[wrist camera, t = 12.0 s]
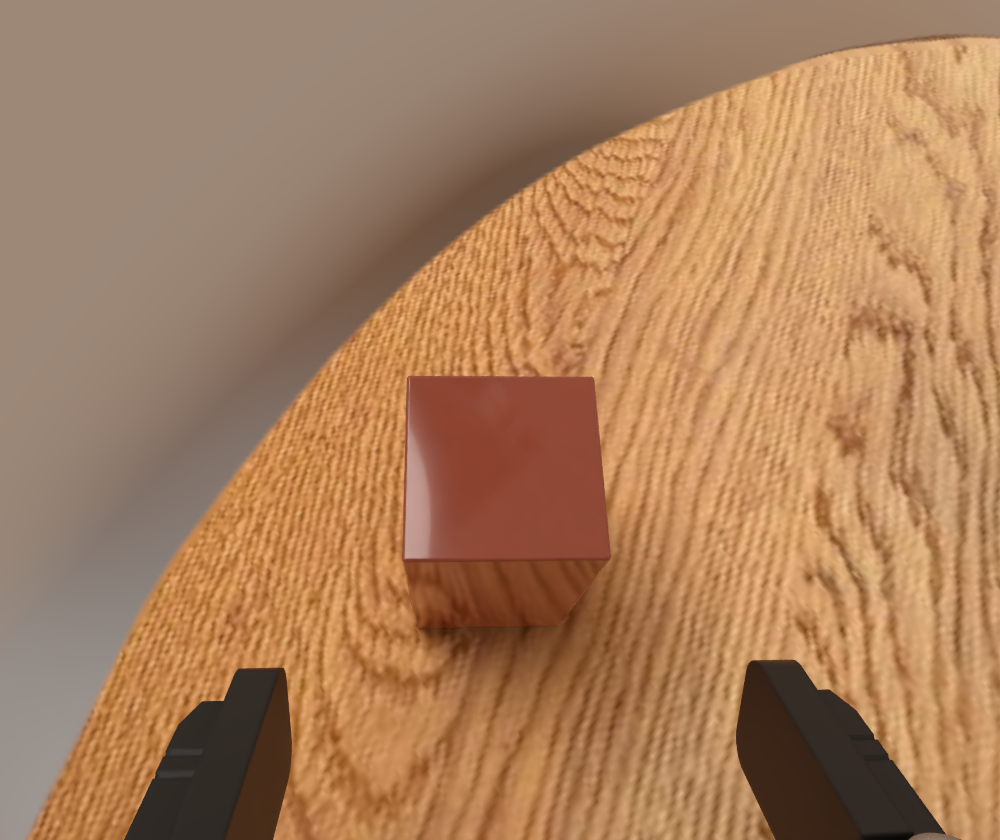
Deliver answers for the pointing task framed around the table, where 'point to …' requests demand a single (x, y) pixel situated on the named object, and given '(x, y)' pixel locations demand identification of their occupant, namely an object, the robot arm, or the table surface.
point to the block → (501, 499)
